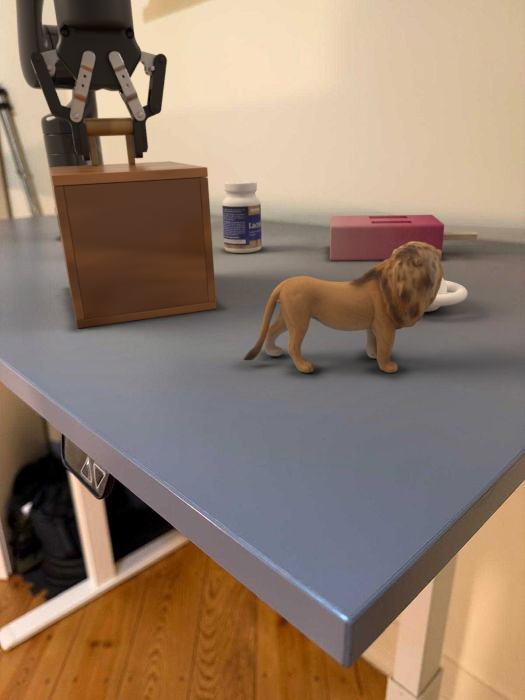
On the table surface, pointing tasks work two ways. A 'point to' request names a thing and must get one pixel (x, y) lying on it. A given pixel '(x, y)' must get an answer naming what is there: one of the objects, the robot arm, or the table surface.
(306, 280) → the lion figurine
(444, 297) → the white curved piece
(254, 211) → the pill bottle
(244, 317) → the table surface
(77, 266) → the chest
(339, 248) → the popsicle
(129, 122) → the lid
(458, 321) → the table surface
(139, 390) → the table surface
